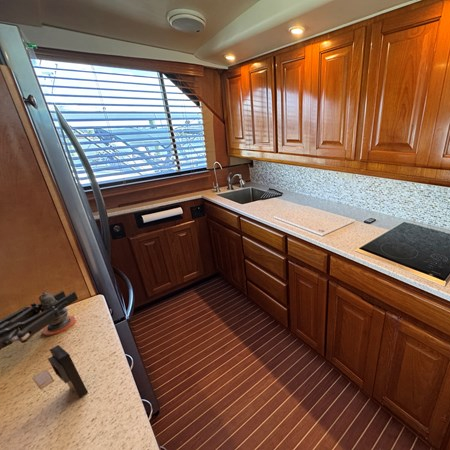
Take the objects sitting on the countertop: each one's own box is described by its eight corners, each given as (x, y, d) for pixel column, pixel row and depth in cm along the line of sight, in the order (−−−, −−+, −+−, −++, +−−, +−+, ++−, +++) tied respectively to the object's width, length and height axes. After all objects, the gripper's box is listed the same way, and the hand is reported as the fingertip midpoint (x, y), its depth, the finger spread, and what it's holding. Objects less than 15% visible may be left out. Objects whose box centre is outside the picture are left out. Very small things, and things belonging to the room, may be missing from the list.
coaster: (36, 333, 71) (35, 331, 70) (64, 315, 77) (64, 314, 77) (55, 337, 69) (54, 336, 69) (82, 318, 76) (82, 317, 76)
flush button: (49, 377, 51) (44, 367, 50) (55, 383, 49) (50, 373, 48) (36, 385, 49) (30, 375, 48) (42, 392, 48) (36, 382, 47)
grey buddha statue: (46, 324, 73) (29, 291, 69) (71, 314, 77) (57, 283, 72) (45, 334, 69) (27, 300, 65) (72, 323, 73) (57, 291, 69)
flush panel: (77, 382, 56) (58, 344, 52) (88, 392, 54) (68, 353, 50) (65, 391, 54) (44, 352, 50) (75, 401, 52) (54, 362, 48)
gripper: (-57, 367, 56) (52, 302, 78) (0, 375, 54) (96, 306, 76) (-75, 343, 54) (43, 283, 75) (-16, 351, 51) (88, 286, 73)
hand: (69, 295), depth 76 cm, fingers closed on grey buddha statue, 3 cm apart
